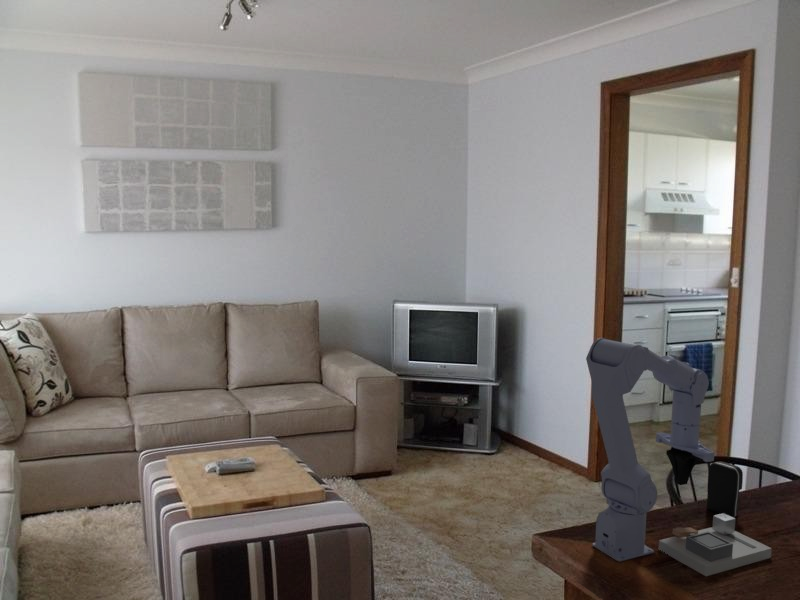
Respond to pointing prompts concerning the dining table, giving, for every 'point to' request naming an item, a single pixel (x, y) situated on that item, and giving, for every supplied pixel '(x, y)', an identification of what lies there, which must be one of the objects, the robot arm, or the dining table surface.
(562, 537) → the dining table surface
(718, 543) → the push button
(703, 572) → the control panel
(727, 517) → the slider knob
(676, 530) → the rocker switch
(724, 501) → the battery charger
